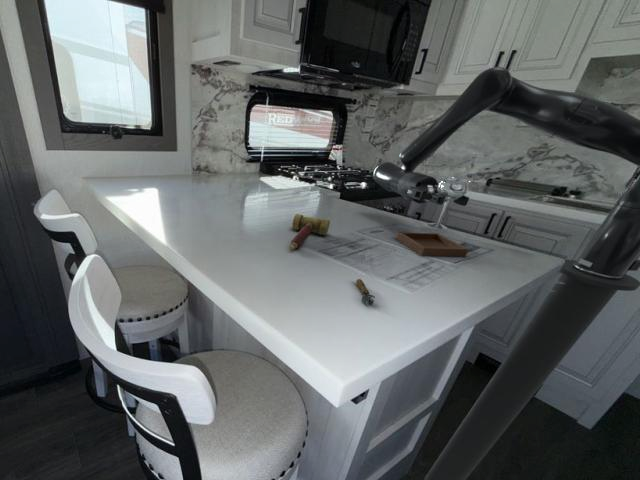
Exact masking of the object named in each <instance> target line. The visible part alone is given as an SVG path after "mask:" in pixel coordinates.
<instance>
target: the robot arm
mask: <svg viewBox="0 0 640 480" xmlns="http://www.w3.org/2000/svg"><path fill="white" fill-rule="evenodd" d="M483 111H485V112H490V113H495V114H499V115H503V116H506V117H510V118H513V119H515V120H517V121H519V122H521V123H523V124H525V125H527V126H528V127H530V128H532V129H534V130H536V131H537V132H540V133H541V134H544V135H546V136H549V137H552V138H553V139H556V140H559V141H562V142H565V143H567V144H571V145H574V146H577V147H581V148H585V149H589V150H594V151H599V152H603V153H606V154H611V155H613V156H616V157H618V158H620V159H623V160H624V161H627V162H629V163H631V164H633V165H635V166H637V167H639V168H640V119H639V118H637V117H635V116H633V115H632V114H630V113H629V112H626V111H625V110H623V109H621V108H620V107H618V106H615V105H613V104H611V103H608V102H606V101H603V100H601V99H597V98H594V97H591V96H588V95H584V94H581V93H577V92H576V93H575V92H570V91H565V90H557V89H549V88H542V87H538V86H535V85H532V84H530V83H527V82H525V81H522V80H520V79H519V78H516V77H514V76H513V75H512V74H511V72H510V71H509V70H508V69H507V68H505V67H503V66H493V67H490V68H487V69H485V70H483V71H481V72H480V73H479V74H478V75H476V77H475V78H474V79H473V80H472V82H471V83H470V84H469V85H468V86H467V87H466V89H465V90H464V91H463V92H462V93H461V94H460V96H459V97H458V98H457V99H456V100H455V101H454V103H452V104H451V106H449V107H448V109H447V110H445V112H444V113H443V114H442V115H441V116H439V117H438V118H437V119H436V120H435V121H434V122H433V123H432V124H430V125H429V126H428V127H427V128H426V129H425V130H424V131H423V132H421V134H419V135H418V136H417V137H416V138H415V139H414V140H413V141H412V142H410V143H409V145H407V146H406V147H405V148H404V149H403V150H402V151H401V152H400V154H399V160H400V162H401V163H402V166H399V165H397V164H395V163H393V162H391V161H385V162H381V163H380V164H378V165H377V166H376V168H375V169H374V171H373V174H372V177H373V180H374V182H375V183H377V184H378V185H379V186H381V187H382V188H383V189H384V190H386V191H388V192H394V193H396V194H399V195H400V196H402V197H403V198H405V199H407V200H409V201H412V202H414V203H415V204H425V203H433V204H436V205H439V206H443V205H444V203H445V202H444V199H445V196H443V195H441V194H438V192H437V187H438V185H439V183H438V180H437V179H436V177H433V176H431V175H427V174H424V173H421V172H415V170H416V169H417V168H418V167H419V166H420V165H421V164H422V163H423V162H425V161H426V160H427V159H428V158H429V157H431V156H432V155H433V154H434V153H436V151H437V150H438V149H439V148H440V147H442V145H443V144H444V143H445V142H447V141H448V139H449V138H451V136H452V135H454V134H455V132H457V131H458V130H459V129H460V128H461V127H463V125H464V124H466V123H468V122H469V121H470V120H472V119H473V118H474V117H476V116H478V115H479V114H480V113H482V112H483ZM469 200H470V197H469V196H467V195H464V196H463V197H461V198H459V199H457V200H453V201H451V202H450V203H453V204H456V205H459V206H463V207H466V206H467V205H468V203H469ZM639 258H640V174H639V175H638V176H637V178H636V179H635V181H634V182H633V183H632V185H631V186H629V188H628V189H627V190H625V191H624V192H623V193H622V194H621V195H620V197H618V199H617V201H616V203H615V204H614V206H612V208H611V210H609V212H608V214H607V216H606V217H605V218H604V220H603V221H602V223H601V225H600V226H599V227H598V229H597V230H596V232H595V233H594V235H592V238H591V239H590V240H589V242H588V243H587V245H586V246H585V248H584V249H583V250H582V252H581V253H580V255H579V256H578V258H577V260H576V262H575V263H574V264H573V267H574V268H575V269H577V270H579V271H581V272H584V273H586V274H589V275H593V276H596V277H600V278H605V279H612V280H619V279H621V278H622V277H624V276H625V274H627V273H628V272H629V271H633V272H636V271H637V272H638V270H639V269H640V259H639Z"/></svg>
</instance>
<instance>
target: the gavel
mask: <svg viewBox="0 0 640 480" xmlns="http://www.w3.org/2000/svg"><path fill="white" fill-rule="evenodd" d="M291 224H292V225H291V227H292V230H295V231H298V233H296V235H295V236H294V237H293V238H292V239H291V241H290V249H291V250H295V249H299V248H300V247H301V246H302V244H303V243H304V242H305V240H306V239H307V238H308V236H309V235H310V234H311V233H318V235H319V236H326V235H328V232H329V228H330V224H331V221H330V219H328V218H322V219H320V218H315V217H311V216H304V215H303V214H301V213H300V214H299V213H296V214H295V215H294V216H293V219H292V223H291Z"/></svg>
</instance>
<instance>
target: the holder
mask: <svg viewBox="0 0 640 480" xmlns="http://www.w3.org/2000/svg"><path fill="white" fill-rule="evenodd" d="M396 240H397V241H399V242H400V243H402V244H404V245H405V246H406V247H407V248H409V249H411V250H412V251H414V252H415V253H416V254H418V255H420V256H424V257H425V256H426V257H428V256H429V257H432V256H433V257H462V258H463V257H466V256H467V255H468V252H469V248H467V247H465V246H463V245H461V244H459V243H457V242H455V241H453V240H452V239H449V238H448V237H446V236H444V235H442V234H440V233H437V232H436V233H435V232H433V233H432V232H408V231H407V232H404V231H403V232H402V231H399V232H398V233H397V236H396Z"/></svg>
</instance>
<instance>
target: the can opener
mask: <svg viewBox="0 0 640 480" xmlns="http://www.w3.org/2000/svg"><path fill="white" fill-rule="evenodd" d="M356 285H357V286H358V288H359V289H360V291H361V292H362V294H363V295H362V296H361V299H362V301H363V302H364V303H366V304H367V305H369V306H370V305H374V302H375V300H374V299H376V296H375V295H373V294H370V291H369V290H368V288H367V287H366V285H365V283H364V281H363V280H362V279H361V278H358V279H356Z"/></svg>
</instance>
